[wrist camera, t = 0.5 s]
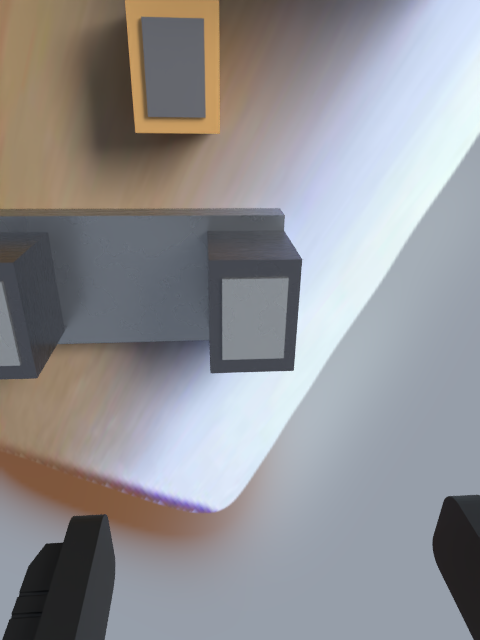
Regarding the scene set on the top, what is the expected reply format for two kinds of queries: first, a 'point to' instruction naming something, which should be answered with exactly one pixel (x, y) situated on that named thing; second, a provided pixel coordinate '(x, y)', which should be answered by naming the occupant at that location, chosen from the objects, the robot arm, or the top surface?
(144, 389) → the top surface
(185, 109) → the orange module
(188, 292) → the rail plate
